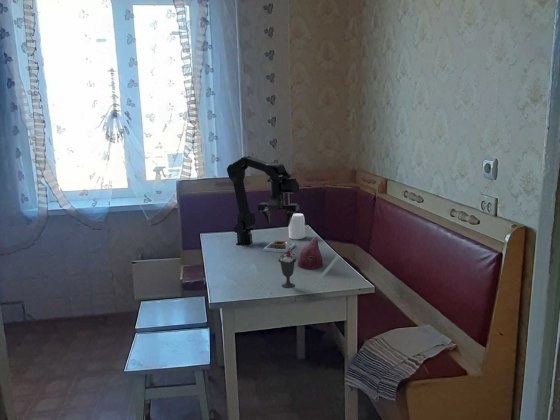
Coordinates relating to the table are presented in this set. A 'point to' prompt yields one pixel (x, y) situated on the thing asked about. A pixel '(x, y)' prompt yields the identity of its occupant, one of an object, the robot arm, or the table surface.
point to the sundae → (287, 268)
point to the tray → (277, 249)
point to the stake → (288, 248)
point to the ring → (278, 245)
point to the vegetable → (310, 256)
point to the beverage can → (297, 226)
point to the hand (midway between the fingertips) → (278, 225)
